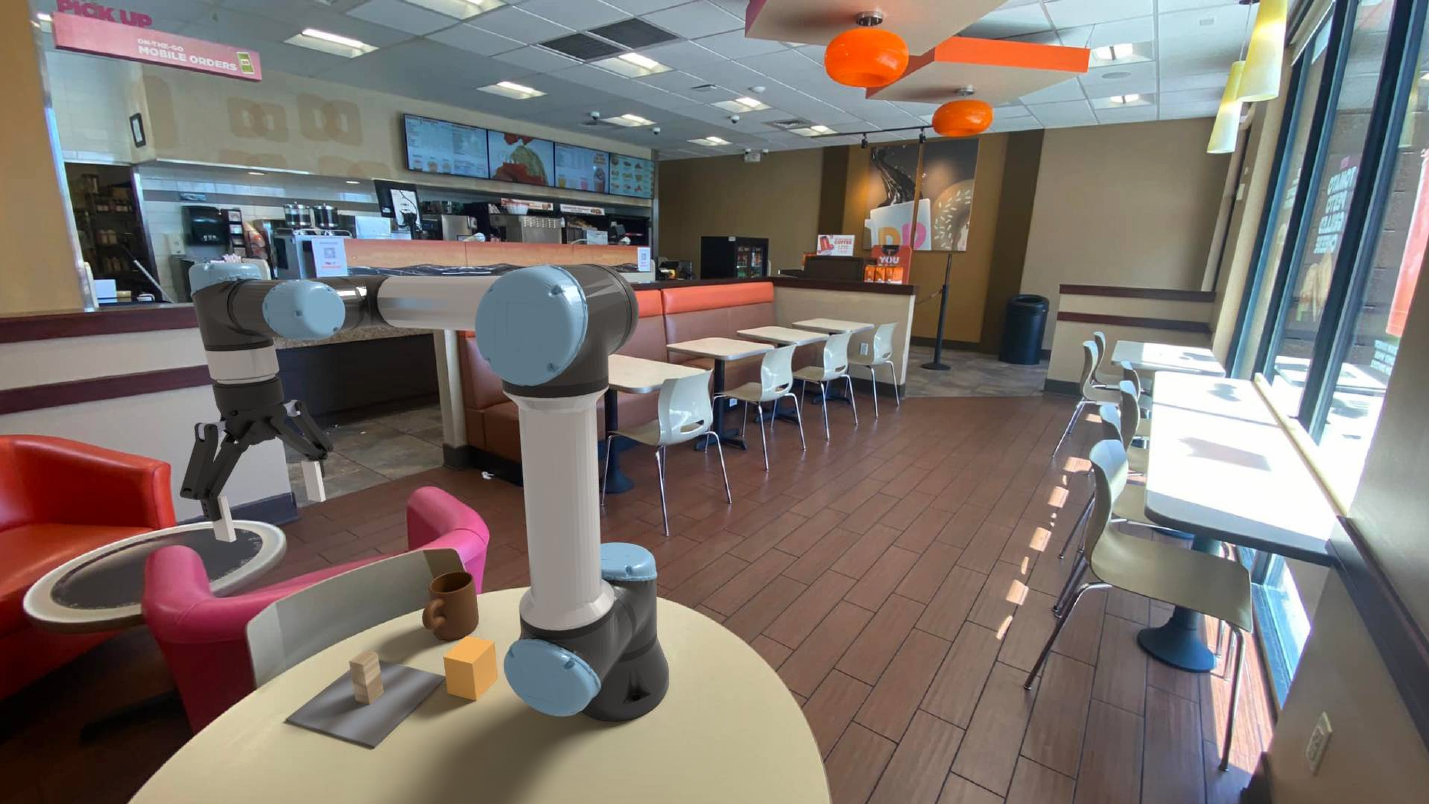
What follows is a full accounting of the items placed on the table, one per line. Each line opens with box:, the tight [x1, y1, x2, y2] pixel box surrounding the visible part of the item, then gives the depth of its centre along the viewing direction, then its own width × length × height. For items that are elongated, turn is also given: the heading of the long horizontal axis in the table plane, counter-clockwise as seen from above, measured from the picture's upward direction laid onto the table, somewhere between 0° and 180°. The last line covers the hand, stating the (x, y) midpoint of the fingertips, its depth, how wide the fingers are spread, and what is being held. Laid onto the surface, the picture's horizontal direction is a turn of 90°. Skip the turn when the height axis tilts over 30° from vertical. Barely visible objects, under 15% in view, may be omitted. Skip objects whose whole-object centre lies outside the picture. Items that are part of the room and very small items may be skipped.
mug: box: [421, 570, 480, 641], centre depth 103 cm, size 12×8×9 cm, turn 172°
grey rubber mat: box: [285, 649, 446, 749], centre depth 88 cm, size 16×14×7 cm
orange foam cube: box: [442, 635, 499, 701], centre depth 91 cm, size 5×5×7 cm
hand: (275, 518), depth 87 cm, fingers open, 13 cm apart
